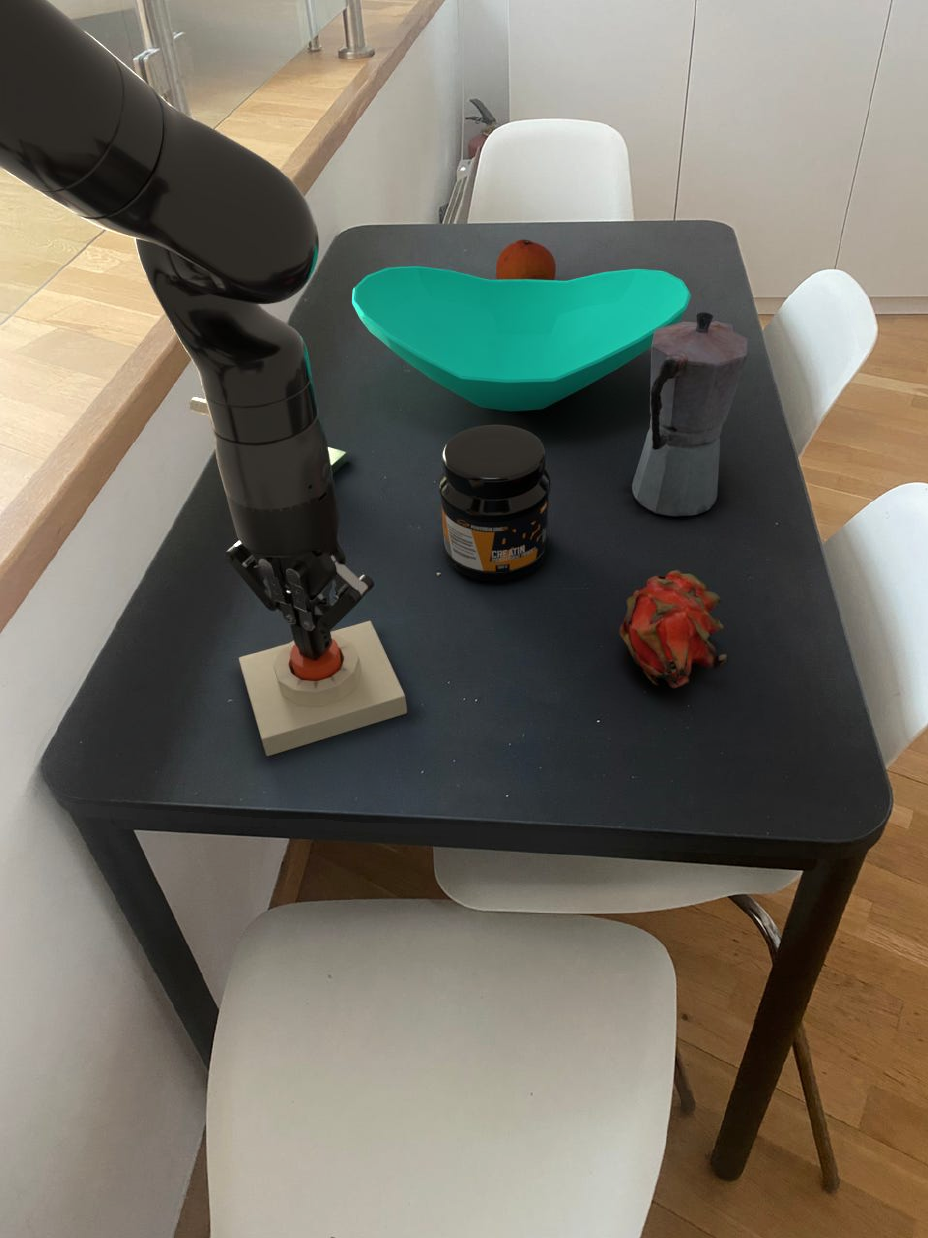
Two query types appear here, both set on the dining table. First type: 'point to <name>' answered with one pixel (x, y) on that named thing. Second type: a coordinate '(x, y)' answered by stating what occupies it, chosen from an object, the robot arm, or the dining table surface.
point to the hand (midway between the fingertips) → (315, 651)
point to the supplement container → (494, 502)
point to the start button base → (322, 691)
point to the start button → (316, 664)
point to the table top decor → (517, 328)
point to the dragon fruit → (672, 627)
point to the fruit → (525, 262)
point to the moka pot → (688, 414)
